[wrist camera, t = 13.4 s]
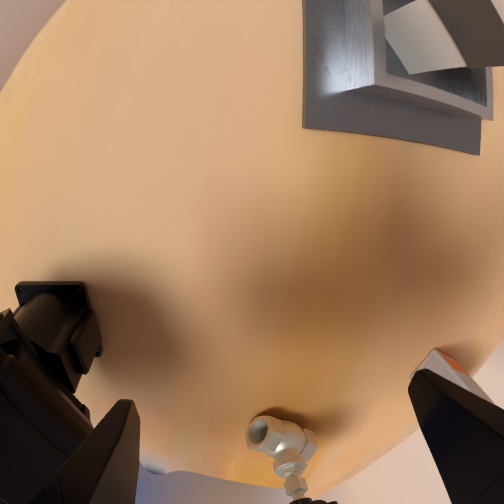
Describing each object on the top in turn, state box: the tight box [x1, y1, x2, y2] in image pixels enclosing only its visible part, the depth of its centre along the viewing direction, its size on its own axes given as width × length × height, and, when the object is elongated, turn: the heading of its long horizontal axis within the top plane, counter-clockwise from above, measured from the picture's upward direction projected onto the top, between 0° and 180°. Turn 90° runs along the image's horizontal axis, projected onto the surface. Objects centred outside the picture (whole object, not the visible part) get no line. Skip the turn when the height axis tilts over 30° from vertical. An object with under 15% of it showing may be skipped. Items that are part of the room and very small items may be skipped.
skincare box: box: [411, 349, 495, 405], centre depth 23 cm, size 6×4×12 cm
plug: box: [384, 0, 504, 75], centre depth 10 cm, size 5×5×12 cm
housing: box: [302, 0, 493, 156], centre depth 14 cm, size 16×16×4 cm
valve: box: [246, 416, 338, 504], centre depth 22 cm, size 7×7×12 cm
